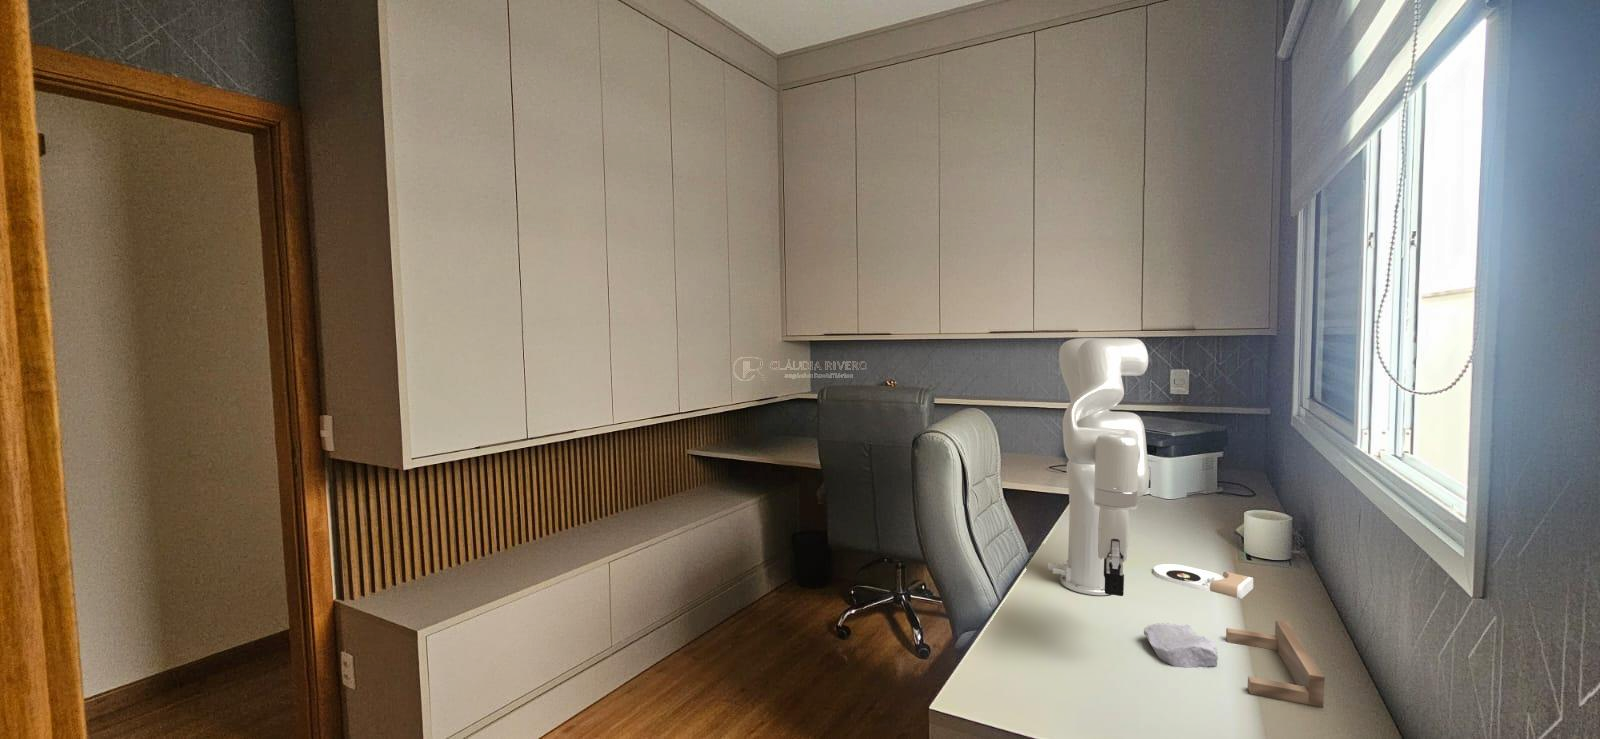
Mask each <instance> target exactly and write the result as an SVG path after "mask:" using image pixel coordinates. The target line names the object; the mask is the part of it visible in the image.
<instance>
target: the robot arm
mask: <svg viewBox="0 0 1600 739" xmlns="http://www.w3.org/2000/svg"><path fill="white" fill-rule="evenodd" d="M1058 355H1059V357H1058V358H1059V367H1060V368H1059V369H1060V372H1061V376H1062V380H1063V381H1064V384H1065V385H1066V388H1067V391H1068V395H1069V398H1070V400H1069V401H1070V402H1069V404H1068V406H1067V408H1066V409H1065V410H1064V414H1063V418H1062V434H1063V435H1062V437H1063V448H1064V453H1065V456H1066V458H1067V464H1066V477H1067V478H1066V480H1067V486H1068V487H1067V488H1068V496H1069V497H1068V498H1069V501H1068V502H1069V506H1068V508H1069V511H1068V512H1069V514H1068V517H1069V518H1068V546H1067V547H1068V552H1067V555H1068V557H1067V560H1066V563H1065V562H1064V563H1063V562H1062V563H1056V562H1048V564H1047V570H1048V571H1052V574H1053V575H1061V576H1060V583H1061V585H1062V586H1064V587H1065V588H1067V589H1069V590H1071V591H1074V592H1076V593H1080V594H1083V595H1084V594H1085V595H1091V596H1108V595H1110V596H1118V597H1123V596H1124V590H1125V589H1124V588H1125V574H1124V563H1125V562H1127V558H1128V552H1129V551H1128V550H1129V543H1130V542H1129V537H1130V522H1131V518H1130V517H1131V511H1133V510H1134V511H1135V510H1137V508H1138V498H1139V497H1143V496H1145V495H1146V494H1147V492H1148V489H1149V485H1150V475H1149V474H1150V472H1149V461H1148V451H1147V439H1146V437H1147V436H1146V430H1145V426H1144V422H1143V420H1142V419H1141V417H1140V416H1139V415H1138V414H1136V413H1134V412H1130V411H1113V410H1110V409H1111V408H1113V407H1115V406H1117V405H1118V404H1120V402H1121V401H1122V400H1123V398H1124V395H1125V388H1124V384H1123V377H1122V376H1126V377H1127V376H1128V377H1129V376H1130V377H1133V376H1134V377H1135V376H1136V377H1140V376H1143V375H1144V374H1145V372H1146V371H1147V369H1148V367H1149V354H1148V350H1147V347H1146V345H1145V344H1144V342H1143V341H1142V340H1141V339H1139V338H1125V337H1122V338H1113V337H1111V338H1109V337H1108V338H1104V337H1102V338H1101V337H1100V338H1098V337H1080V338H1074V339H1069V340H1067V341H1064V342H1063V343H1062V344H1061V346H1060V349H1059V354H1058Z"/></svg>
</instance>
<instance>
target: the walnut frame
mask: <svg viewBox="0 0 1600 739" xmlns="http://www.w3.org/2000/svg"><path fill="white" fill-rule="evenodd" d="M1274 626H1275V627H1274V629H1275V630H1274V634H1268V633H1261V632H1254V631H1247V630H1242V629H1236V628H1229V627H1226V629H1225V630H1226V632H1225V639H1226V641H1227V643H1231V644H1238V645H1245V646H1249V647H1250V646H1251V647H1256V648H1262V649H1268V650H1276V651H1277V653H1278V655H1279V656H1280V659H1282V661H1283V663H1284V665H1285V666H1286V668H1287V671H1288V672H1289V673H1290V676H1291V677H1292V679H1293V680H1294V682H1295V684H1293V683H1287V682H1282V681H1276V680H1275V681H1274V680H1269V679H1265V678H1260V677H1254V676H1247V690H1248V692H1249V694H1251V695H1255V696H1261V697H1267V698H1272V699H1277V700H1281V701H1288V702H1294V703H1299V704H1305V705H1308V706H1315V707H1319V708H1320V707H1321V708H1324V701H1325V700H1324V699H1325V697H1324V696H1325V682H1326V681H1325V680H1326V677H1325V676H1324V674H1323V673H1322V671H1321V669H1320V668H1319V666H1318V665H1317V664H1316V662H1315V660H1314V659H1313V657H1312V656H1311V654H1310V653H1309V651H1308V650H1307V649H1306V646H1305V645H1304V644H1303V642H1302V641H1301V639H1300V638H1299V636H1298V634H1297V633H1296V632H1295V630H1294V629H1293V627H1292V625H1291V623H1289V621H1285V620H1284V621H1282V620H1275V624H1274Z"/></svg>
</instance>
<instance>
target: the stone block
mask: <svg viewBox="0 0 1600 739" xmlns="http://www.w3.org/2000/svg"><path fill="white" fill-rule="evenodd" d="M1143 635H1144V636H1145V637H1146V638H1147V641H1148V643H1149V644H1150V645H1151V647H1152V649H1153V651H1154V652H1155V654H1156V655H1157V657H1158V659H1159V660H1161V661H1163V662H1165V663H1166V664H1168V665H1170V666H1172V667H1176V668H1184V669H1187V668H1188V669H1190V668H1211V667H1212V668H1213V667H1215V668H1216V667H1217V666H1218V660H1219V656H1218V650H1217V647H1216V645H1215V644H1214V643H1213V641H1211V640H1209V639H1208V638H1206V637H1205V636H1200V635H1198V634H1197V632H1195V631H1194V629H1193V628H1192V626H1190V625H1189V624H1184V625H1183V624H1181V625H1180V624H1174V623H1168V622H1167V623H1165V622H1162V623H1159V622H1158V623H1153V624H1151V625H1147V626H1145V627H1144V628H1143Z"/></svg>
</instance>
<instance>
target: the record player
mask: <svg viewBox="0 0 1600 739" xmlns="http://www.w3.org/2000/svg"><path fill="white" fill-rule="evenodd" d="M1153 575H1154V576H1155V577H1157V578H1158V579H1161V580H1163V581H1165V582H1169V583H1172V584H1176V585H1180V586H1182V587H1183V586H1184V587H1186V588H1187V587H1188V588H1190V589H1191V588H1192V589H1196V590H1200V591H1207V592H1213V593H1218V594H1220V595H1221V594H1222V595H1225V596H1228V597H1233V598H1236V599H1240V600H1241V599H1243V598H1244V597H1245V596H1246V595H1247V594H1248V593H1250V592H1251V591H1252V590H1253V589H1254V578H1253V577H1250V576H1246V575H1243V574H1242V575H1241V574H1237V573H1234V572H1230V571H1224V572H1223V573H1222V575H1221V574H1219V573H1216V572H1213V571H1210V570H1204V569H1200V568H1196V567H1193V566H1192V567H1191V566H1188V565H1182V564H1174V563H1167V564H1166V563H1163V564H1157V565H1155V566H1154V567H1153Z"/></svg>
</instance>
